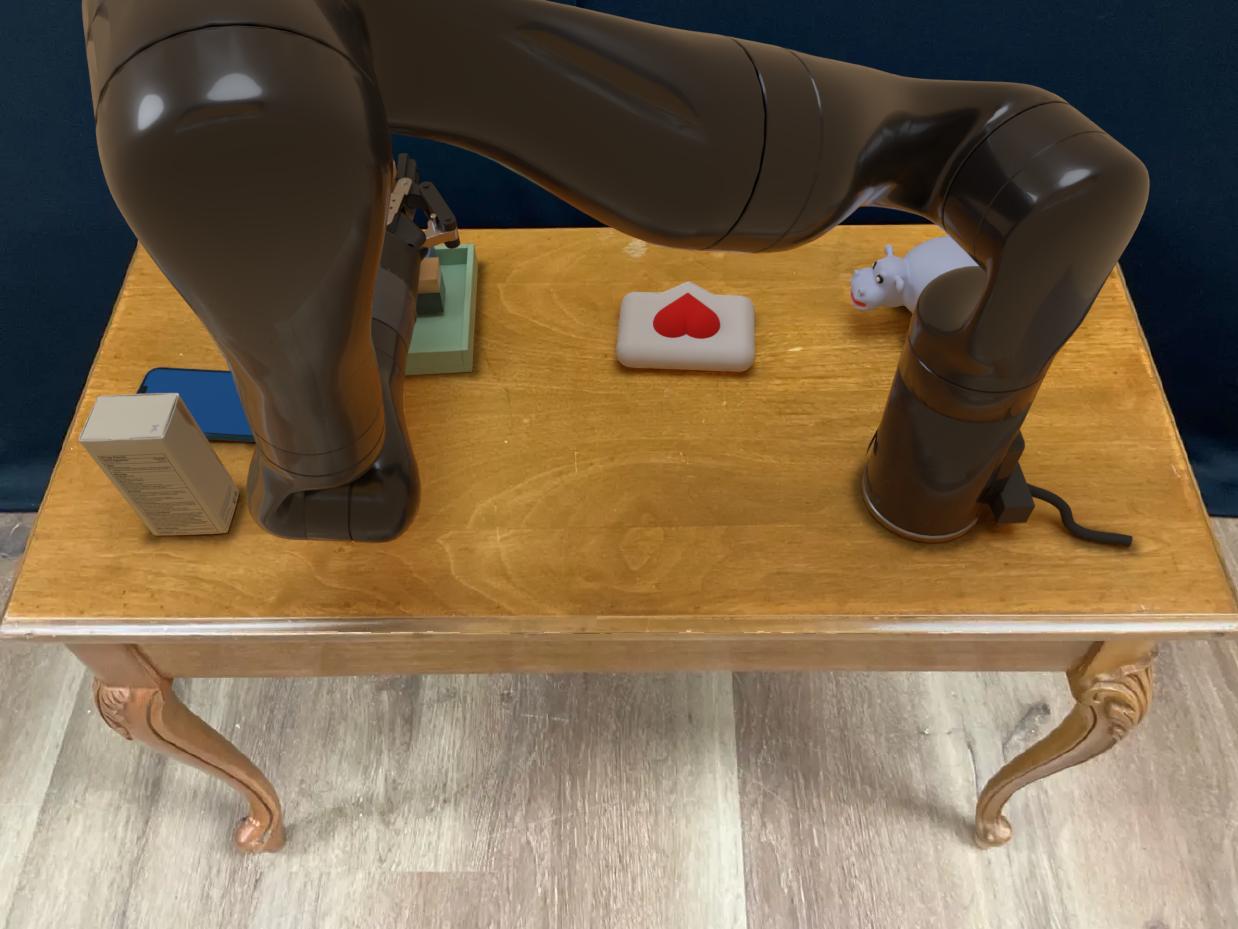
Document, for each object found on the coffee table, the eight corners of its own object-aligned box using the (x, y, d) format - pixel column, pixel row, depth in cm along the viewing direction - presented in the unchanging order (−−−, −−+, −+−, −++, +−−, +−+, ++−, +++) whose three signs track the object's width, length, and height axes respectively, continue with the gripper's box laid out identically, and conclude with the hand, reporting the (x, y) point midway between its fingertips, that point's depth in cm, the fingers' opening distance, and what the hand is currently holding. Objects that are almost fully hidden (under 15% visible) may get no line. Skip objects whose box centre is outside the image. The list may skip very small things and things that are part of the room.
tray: (478, 265, 95) (474, 243, 93) (472, 372, 86) (467, 350, 84) (364, 271, 95) (357, 249, 93) (346, 378, 86) (338, 356, 84)
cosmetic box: (241, 490, 79) (184, 390, 69) (228, 535, 76) (167, 438, 67) (163, 492, 79) (95, 392, 69) (148, 536, 76) (75, 439, 67)
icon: (756, 265, 88) (757, 344, 82) (752, 300, 91) (753, 379, 85) (622, 260, 88) (613, 338, 82) (623, 295, 92) (615, 373, 86)
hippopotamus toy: (833, 286, 92) (849, 204, 84) (990, 279, 92) (1021, 196, 84) (854, 370, 85) (874, 289, 78) (1024, 362, 85) (1060, 280, 78)
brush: (445, 290, 91) (415, 151, 79) (444, 312, 89) (412, 173, 77) (381, 293, 91) (342, 155, 79) (378, 316, 89) (337, 177, 77)
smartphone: (292, 439, 81) (117, 429, 82) (295, 447, 82) (122, 437, 82) (315, 374, 85) (149, 365, 86) (318, 382, 86) (153, 373, 87)
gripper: (451, 260, 68) (462, 119, 79) (251, 271, 68) (289, 128, 78) (466, 336, 74) (475, 195, 85) (283, 346, 74) (314, 204, 84)
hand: (385, 164), depth 81 cm, fingers closed on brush, 3 cm apart
